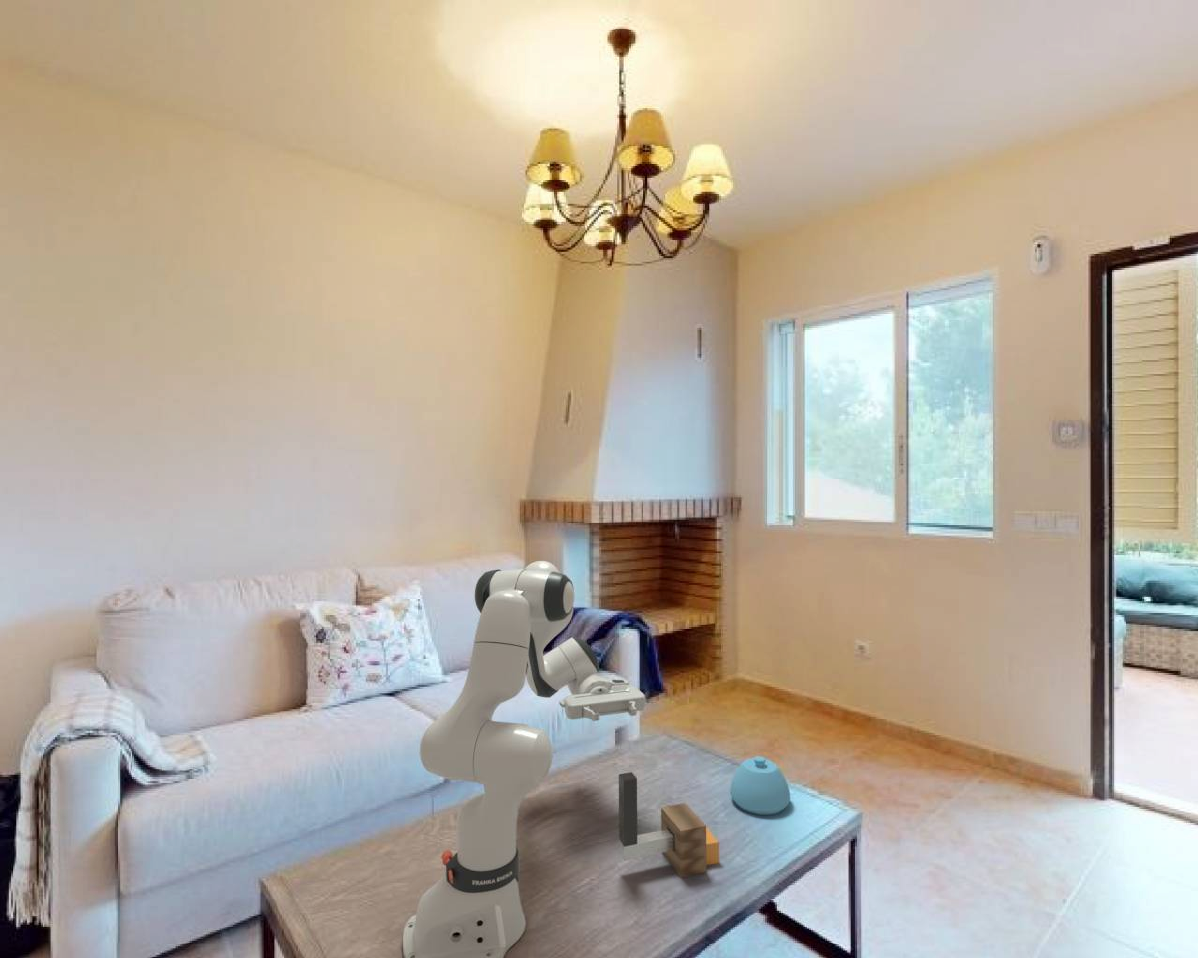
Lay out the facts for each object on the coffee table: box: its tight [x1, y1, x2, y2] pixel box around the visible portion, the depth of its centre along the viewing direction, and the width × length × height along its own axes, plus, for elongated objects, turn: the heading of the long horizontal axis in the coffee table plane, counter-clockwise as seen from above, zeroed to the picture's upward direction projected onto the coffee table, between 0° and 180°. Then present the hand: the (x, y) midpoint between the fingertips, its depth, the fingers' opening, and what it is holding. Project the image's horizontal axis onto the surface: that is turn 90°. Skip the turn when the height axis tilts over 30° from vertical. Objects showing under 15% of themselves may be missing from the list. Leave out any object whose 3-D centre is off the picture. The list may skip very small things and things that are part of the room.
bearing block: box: [660, 802, 707, 879], centre depth 141 cm, size 6×10×10 cm, turn 19°
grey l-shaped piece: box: [618, 772, 675, 862], centre depth 139 cm, size 16×3×17 cm, turn 109°
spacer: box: [706, 826, 720, 866], centre depth 143 cm, size 4×6×5 cm, turn 15°
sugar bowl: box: [729, 755, 791, 816], centre depth 166 cm, size 15×15×12 cm
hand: (615, 714), depth 151 cm, fingers open, 8 cm apart
